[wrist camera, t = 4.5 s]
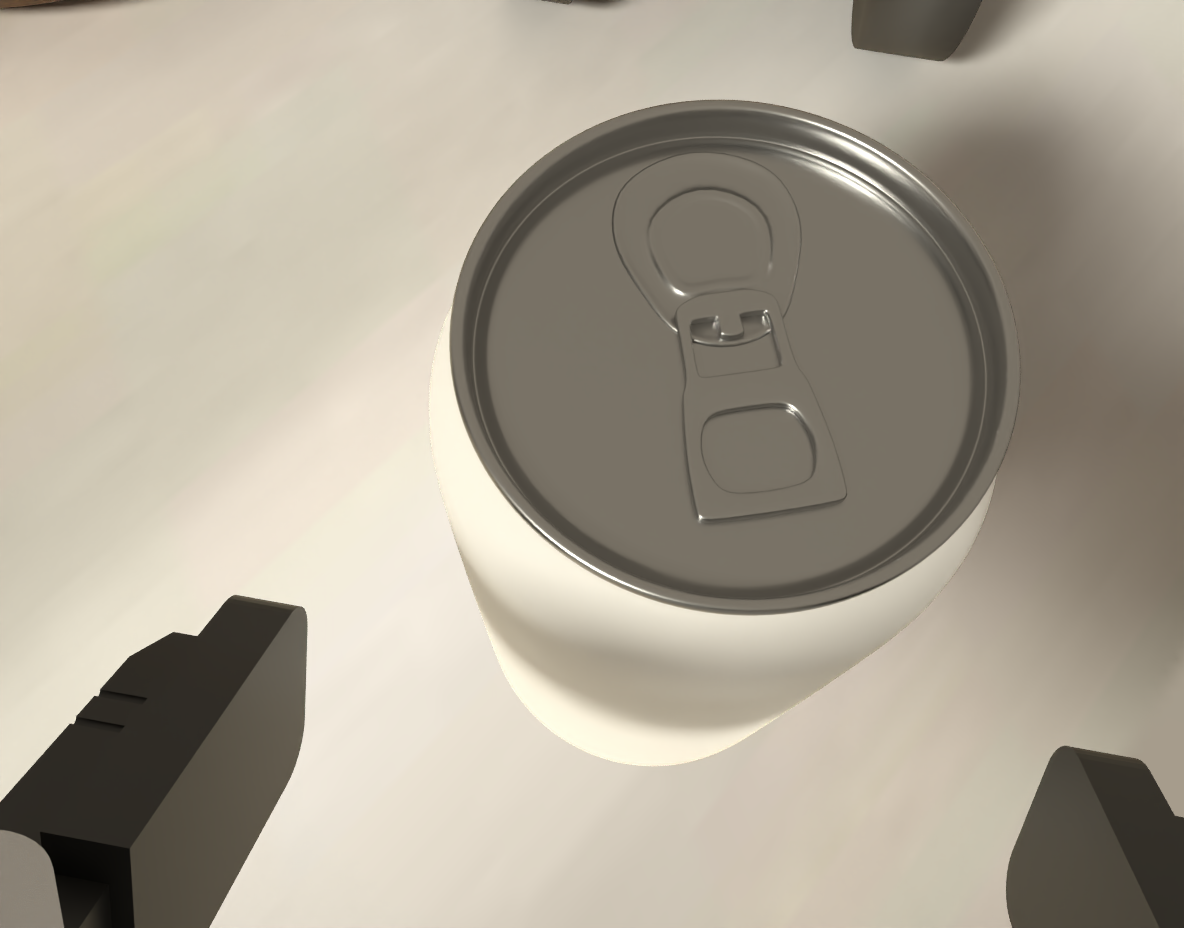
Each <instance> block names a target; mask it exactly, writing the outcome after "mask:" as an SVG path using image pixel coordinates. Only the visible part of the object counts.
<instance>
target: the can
mask: <svg viewBox="0 0 1184 928" xmlns="http://www.w3.org/2000/svg"><path fill="white" fill-rule="evenodd" d="M1019 393H1020V351H1019V342H1018V335H1017V329H1016V324H1015V319H1014V315H1013V312H1012V308H1011V304H1010V301H1009V298H1008V295H1007V292H1006V289H1005V287H1004V284H1003V281H1002V279H1001V277H1000V274H999V272H998V270H997V268H996V266H995V264H994V262H993V260H992V258H991V256H990V254H989V252H988V250H987V249H986V247H985V245H984V244H983V242H982V240H981V239H980V237H979V236H978V234H977V233H976V231H975V230H974V228H973V227H972V226H971V224H970V223H969V222H968V220H967V219H966V217H965V216H964V215H963V214H962V213H961V211H960V210H959V209H958V208H957V207H956V205H955V204H954V203H953V202H952V201H951V200H950V199H949V198H948V197H947V196H946V195H945V194H944V193H943V191H942V190H941V189H940V188H938V187H937V186H936V185H935V184H934V183H933V182H932V181H931V180H930V179H929V178H928V177H926V176H925V175H924V174H923V173H922V172H921V171H919V170H918V169H917V168H915V167H914V166H913V165H912V164H910V163H909V162H908V161H906V160H905V159H903V158H902V157H901V156H899V155H898V154H896V153H895V152H893V151H892V150H890V149H888V148H887V147H885V146H884V145H882V144H880V143H879V142H877V141H875V140H873V139H871V138H869V137H868V136H866V135H864V134H862V133H860V132H858V131H856V130H853V129H851V128H849V127H847V126H844V125H842V124H839V123H837V122H834V121H832V120H829V119H826V118H823V117H821V116H818V115H814V114H811V113H808V112H804V111H800V110H797V109H793V108H788V107H784V106H778V105H773V104H767V103H760V102H751V101H739V100H697V101H686V102H677V103H670V104H664V105H659V106H654V107H650V108H645V109H641V110H638V111H634V112H631V113H628V114H624V115H621V116H618V117H616V118H613V119H610V120H608V121H605V122H603V123H600V124H598V125H596V126H594V127H592V128H589V129H587V130H585V131H583V132H582V133H580V134H578V135H576V136H574V137H572V138H571V139H569V140H567V141H565V142H564V143H562V144H561V145H559V146H558V147H556V148H555V149H553V150H552V151H550V152H549V153H548V154H546V155H545V156H544V157H542V158H541V159H540V160H539V161H537V162H536V163H535V164H534V165H532V166H531V167H530V168H529V169H528V170H527V171H526V172H525V173H524V174H523V175H522V176H520V177H519V178H518V179H517V180H516V181H515V182H514V184H513V185H512V186H511V187H510V188H509V189H508V190H507V191H506V192H505V194H504V195H503V196H502V197H501V198H500V200H499V201H498V202H497V204H496V205H495V206H494V207H493V209H492V210H491V212H490V213H489V215H488V216H487V218H486V219H485V221H484V222H483V224H482V226H481V227H480V229H479V231H478V233H477V235H476V236H475V238H474V240H473V242H472V245H471V247H470V249H469V251H468V253H467V256H466V258H465V261H464V263H463V266H462V269H461V272H460V275H459V279H458V282H457V286H456V290H455V294H454V299H453V304H452V306H451V308H450V310H449V312H448V315H447V317H446V320H445V322H444V325H443V328H442V330H441V333H440V337H439V340H438V343H437V347H436V351H435V356H434V360H433V366H432V372H431V380H430V391H429V426H430V441H431V449H432V456H433V461H434V466H435V471H436V475H437V479H438V483H439V487H440V491H441V495H442V499H443V502H444V506H445V509H446V512H447V515H448V518H449V522H450V525H451V528H452V531H453V534H454V537H455V540H456V543H457V546H458V549H459V552H460V555H461V558H462V561H463V564H464V567H465V570H466V573H467V576H468V579H469V582H470V585H471V588H472V590H473V593H474V596H475V599H476V602H477V605H478V608H479V610H480V613H481V616H482V619H483V622H484V625H485V627H486V630H487V633H488V635H489V638H490V641H491V644H492V646H493V649H494V652H495V654H496V657H497V659H498V661H499V664H500V666H501V668H502V670H503V672H504V674H505V676H506V678H507V680H508V682H509V683H510V685H511V687H512V688H513V690H514V691H515V693H516V694H517V696H518V697H519V699H520V700H521V701H522V702H523V704H524V705H525V706H526V707H527V708H528V710H529V711H530V712H531V713H532V714H533V715H534V716H535V717H536V718H537V719H538V720H539V721H540V722H541V723H542V724H543V725H545V726H546V727H547V728H548V729H549V730H551V731H552V732H553V733H555V734H556V735H557V736H559V737H560V738H562V739H563V740H565V741H566V742H568V743H570V744H571V745H573V746H575V747H577V748H579V749H581V750H583V751H585V752H588V753H590V754H592V755H595V756H598V757H601V758H604V759H607V760H611V761H614V762H619V763H624V764H631V765H640V766H666V765H675V764H682V763H687V762H691V761H695V760H699V759H702V758H705V757H708V756H711V755H713V754H716V753H718V752H720V751H722V750H724V749H726V748H728V747H731V746H732V745H734V744H736V743H738V742H740V741H741V740H743V739H745V738H746V737H748V736H749V735H751V734H753V733H754V732H756V731H757V730H759V729H761V728H762V727H764V726H765V725H767V724H768V723H770V722H771V721H773V720H774V719H776V718H778V717H779V716H781V715H782V714H784V713H785V712H787V711H788V710H790V709H791V708H793V707H794V706H796V705H797V704H799V703H800V702H802V701H803V700H805V699H806V698H808V697H809V696H811V695H812V694H814V693H815V692H817V691H818V690H820V689H821V688H823V687H824V686H826V685H827V684H828V683H830V682H831V681H833V680H834V679H836V678H837V677H839V676H840V675H842V674H843V673H845V672H846V671H847V670H849V669H850V668H852V667H853V666H855V665H856V664H858V663H859V662H860V661H862V660H863V659H865V658H866V657H867V656H869V655H870V654H872V653H873V652H874V651H876V650H877V649H879V648H880V647H881V646H883V645H884V644H885V643H887V642H888V641H889V640H890V639H892V638H893V637H894V636H895V635H897V634H898V633H899V632H900V631H902V630H903V629H904V628H905V627H906V626H907V625H909V624H910V623H911V622H912V621H913V620H914V619H916V618H917V617H918V616H919V615H920V614H921V613H922V612H923V611H924V610H925V609H926V608H927V607H928V606H929V605H930V603H931V602H932V601H933V600H934V599H935V598H936V597H937V596H938V594H939V593H940V592H941V591H942V589H943V588H944V587H945V586H946V584H947V583H948V582H949V581H950V579H951V578H952V577H953V575H954V574H955V573H956V571H957V570H958V568H959V567H960V565H961V564H962V562H963V561H964V559H965V558H966V556H967V554H968V552H969V551H970V549H971V547H972V545H973V543H974V541H975V539H976V537H977V535H978V533H979V531H980V529H981V526H982V524H983V522H984V519H985V516H986V513H987V511H988V508H989V504H990V501H991V498H992V494H993V490H994V486H995V481H996V476H997V472H998V470H999V468H1000V465H1001V463H1002V461H1003V459H1004V456H1005V453H1006V451H1007V448H1008V445H1009V442H1010V439H1011V435H1012V432H1013V428H1014V424H1015V420H1016V414H1017V409H1018V402H1019Z"/></svg>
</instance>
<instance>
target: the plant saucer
mask: <svg viewBox="0 0 1184 928" xmlns="http://www.w3.org/2000/svg"><path fill="white" fill-rule="evenodd" d="M56 1H61V0H0V8H8V7H20V6H28V5H36V4H44V3H50V2H56Z"/></svg>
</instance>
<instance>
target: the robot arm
mask: <svg viewBox="0 0 1184 928" xmlns="http://www.w3.org/2000/svg"><path fill="white" fill-rule="evenodd" d="M306 657H307V615H306V612H305V609H304V608H303V607H300V606H294V605H289V604H283V603H278V602H272V601H267V600H261V599H255V598H250V597H244V596H239V595H233V596H231V597H230V598H229V599H228V600H227V601H226V602H225V603H224V604H223V605H222V607H221V608H220V609H219V610H218V612H217V613H216V614H215V615H214V617H213V618H212V619H211V620H210V621H209V623H208V624H207V625H206V626H205V628H204V629H203V630H202V631H201V633H200V634H199V635H198V636H192V635H187V634H181V633H176V632H173V633H171V634H169V635H167V636H165V637H164V638H162V639H160V640H158V641H156V642H155V643H153V644H151V645H149V646H148V647H146V648H144V649H142V650H140V651H139V652H137V653H135V654H133V655H131V656H130V657H129V658H128V659H127V660H126V661H125V662H124V663H123V664H122V666H121V667H120V668H119V669H118V670H117V671H116V672H115V673H114V675H113V676H112V677H111V678H110V679H109V680H108V681H107V682H106V684H105V685H104V686H103V687H102V688H101V689H100V694H99V696H94V697H93V698H92V699H91V701H90V702H89V703H88V704H87V705H86V706H85V707H84V708H83V710H82V711H81V712H80V713H79V714H78V715H77V716H76V721H75V723H74V724H69V725H68V726H67V728H66V729H65V730H64V731H63V732H62V733H61V734H60V735H59V737H58V738H57V739H56V740H55V741H54V742H53V743H52V745H51V746H50V747H49V748H48V749H47V750H46V751H45V752H44V754H43V755H42V756H41V757H40V758H39V759H38V760H37V761H36V763H35V764H34V765H33V766H32V767H31V768H30V769H29V770H28V772H27V773H26V774H25V775H24V776H23V777H22V778H21V779H20V781H19V782H18V783H17V784H16V785H15V786H14V787H13V789H12V790H11V791H10V792H9V793H8V794H7V795H6V796H5V798H4V799H3V800H2V801H1V802H0V928H209V927H210V925H211V923H212V921H213V920H214V918H215V916H216V914H217V912H218V910H219V908H220V907H221V905H222V903H223V901H224V899H225V897H226V896H227V894H228V892H229V890H230V888H231V886H232V885H233V883H234V881H235V879H236V877H237V875H238V874H239V872H240V870H241V868H242V866H243V864H244V863H245V861H246V859H247V857H248V855H249V853H250V851H251V850H252V848H253V846H254V844H255V842H256V840H257V839H258V837H259V835H260V833H261V831H262V829H263V828H264V826H265V824H266V822H267V820H268V818H269V817H270V815H271V813H272V811H273V809H274V807H275V806H276V804H277V802H278V800H279V798H280V796H281V794H282V793H283V791H284V789H285V787H286V785H287V783H288V781H289V779H290V777H291V775H292V773H293V770H294V767H295V764H296V761H297V758H298V755H299V751H300V747H301V742H302V737H303V731H304V721H305V690H306ZM1006 900H1007V909H1008V914H1009V918H1010V922H1011V925H1012V928H1184V818H1183V817H1178V816H1175V815H1174V814H1173V812H1172V810H1171V808H1170V806H1169V805H1168V803H1167V801H1166V799H1165V797H1164V796H1163V794H1162V792H1161V790H1160V788H1159V787H1158V785H1157V783H1156V781H1155V779H1154V778H1153V776H1152V774H1151V772H1150V770H1149V769H1148V768H1147V766H1146V765H1145V764H1144V763H1143V762H1142V761H1141V760H1139V759H1135V758H1130V757H1124V756H1119V755H1113V754H1108V753H1102V752H1096V751H1091V750H1085V749H1080V748H1074V747H1069V746H1062V747H1060V748H1058V749H1057V750H1056V751H1055V752H1054V754H1053V755H1052V757H1051V758H1050V760H1049V763H1048V765H1047V767H1046V770H1045V772H1044V775H1043V777H1042V780H1041V782H1040V785H1039V787H1038V790H1037V792H1036V794H1035V797H1034V799H1033V802H1032V804H1031V807H1030V809H1029V812H1028V814H1027V817H1026V819H1025V822H1024V824H1023V827H1022V829H1021V832H1020V834H1019V836H1018V839H1017V841H1016V844H1015V846H1014V849H1013V851H1012V854H1011V857H1010V861H1009V865H1008V871H1007V880H1006Z"/></svg>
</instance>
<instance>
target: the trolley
mask: <svg viewBox="0 0 1184 928" xmlns="http://www.w3.org/2000/svg"><path fill="white" fill-rule="evenodd" d="M543 1H550V2H556V3H563V4H570V3H571V2H572V0H543ZM981 1H982V0H853V10H852V42H853V46H854V47H855V48H857V49H863V50H870V51H876V52H883V53H889V54H896V55H903V56H909V57H916V58H922V59H929V60H935V61H943V60H945V59H947V58H948V57H949V56H950V55H951V54H952V53H953V52H954V51H955V49H956V48H957V46H958V45H959V44H960V42H961V40H962V39H963V37H964V35H965V34H966V32H967V30H968V28H969V26H970V24H971V23H972V21H973V19H974V17H975V15H976V12H977V10H978V8H979V6H980V4H981Z"/></svg>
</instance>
